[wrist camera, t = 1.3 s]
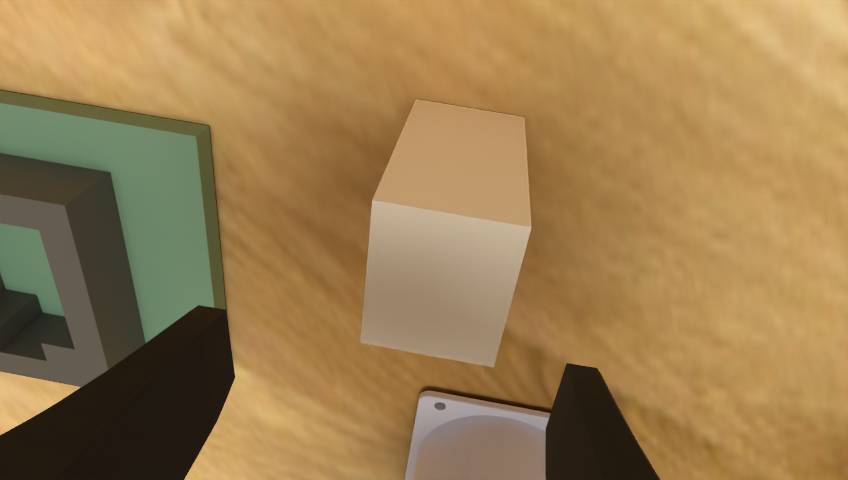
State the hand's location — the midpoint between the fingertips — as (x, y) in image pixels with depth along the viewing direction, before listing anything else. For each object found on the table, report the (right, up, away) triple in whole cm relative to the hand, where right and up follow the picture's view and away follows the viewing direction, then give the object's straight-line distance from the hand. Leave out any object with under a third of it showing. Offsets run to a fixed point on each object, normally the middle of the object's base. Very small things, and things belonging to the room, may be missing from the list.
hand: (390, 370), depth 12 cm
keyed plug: (+2, +5, +8) cm, 10 cm away
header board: (-15, +3, +12) cm, 19 cm away
